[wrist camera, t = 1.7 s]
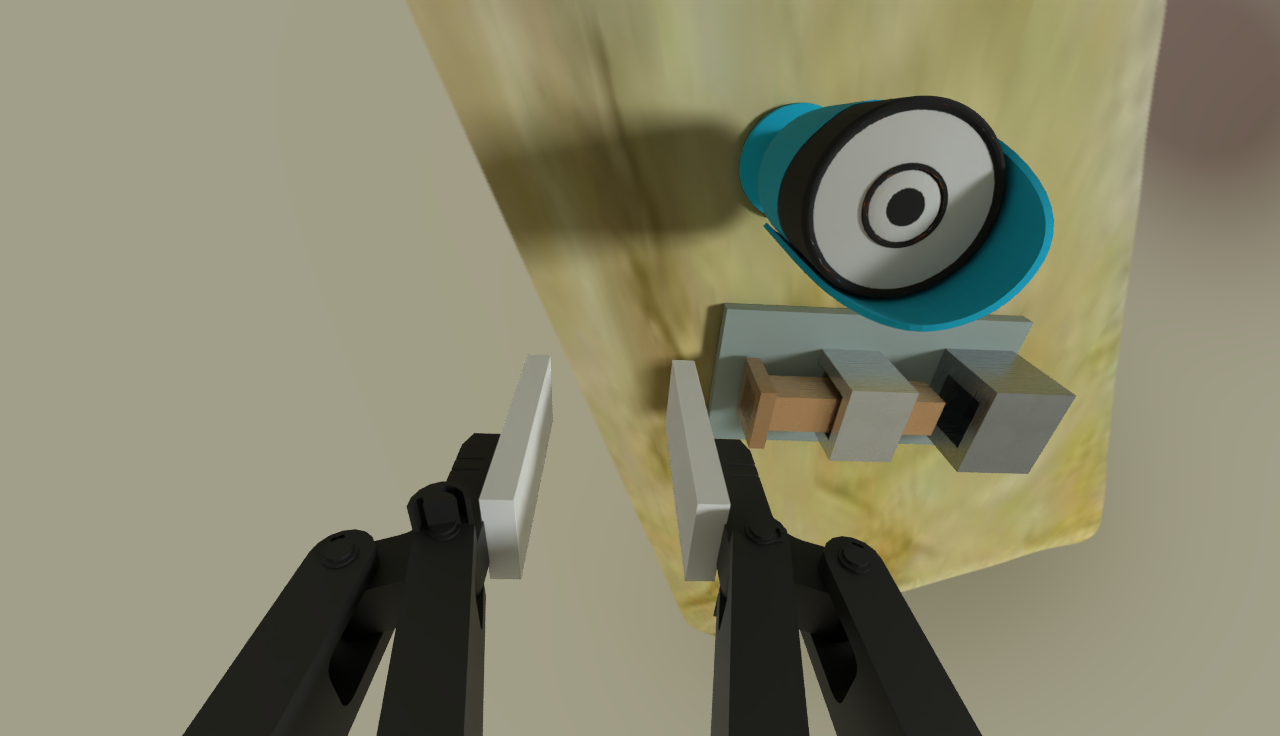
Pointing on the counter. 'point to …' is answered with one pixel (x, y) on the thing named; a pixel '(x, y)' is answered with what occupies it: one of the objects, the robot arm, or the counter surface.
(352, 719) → the robot arm
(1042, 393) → the socket
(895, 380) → the sleeve
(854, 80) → the counter surface
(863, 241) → the security camera
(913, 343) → the board
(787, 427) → the bolt
